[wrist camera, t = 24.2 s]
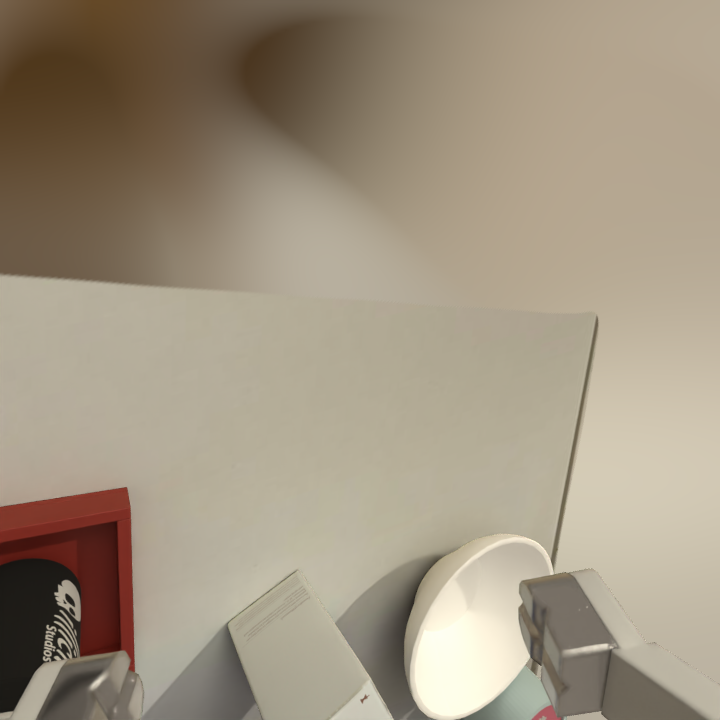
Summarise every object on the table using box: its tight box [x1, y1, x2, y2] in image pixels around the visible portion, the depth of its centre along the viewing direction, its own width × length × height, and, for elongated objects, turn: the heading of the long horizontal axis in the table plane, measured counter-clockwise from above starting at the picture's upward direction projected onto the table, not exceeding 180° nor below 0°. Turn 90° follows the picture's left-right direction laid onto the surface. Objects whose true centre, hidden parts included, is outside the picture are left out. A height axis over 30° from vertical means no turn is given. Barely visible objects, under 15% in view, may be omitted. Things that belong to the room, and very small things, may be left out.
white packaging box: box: [228, 570, 394, 720], centre depth 35 cm, size 7×7×13 cm
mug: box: [460, 666, 567, 720], centre depth 52 cm, size 14×9×10 cm
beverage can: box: [0, 558, 81, 720], centre depth 24 cm, size 7×7×12 cm
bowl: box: [404, 534, 553, 720], centre depth 48 cm, size 20×20×7 cm
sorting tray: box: [0, 487, 135, 672], centre depth 29 cm, size 13×13×3 cm
